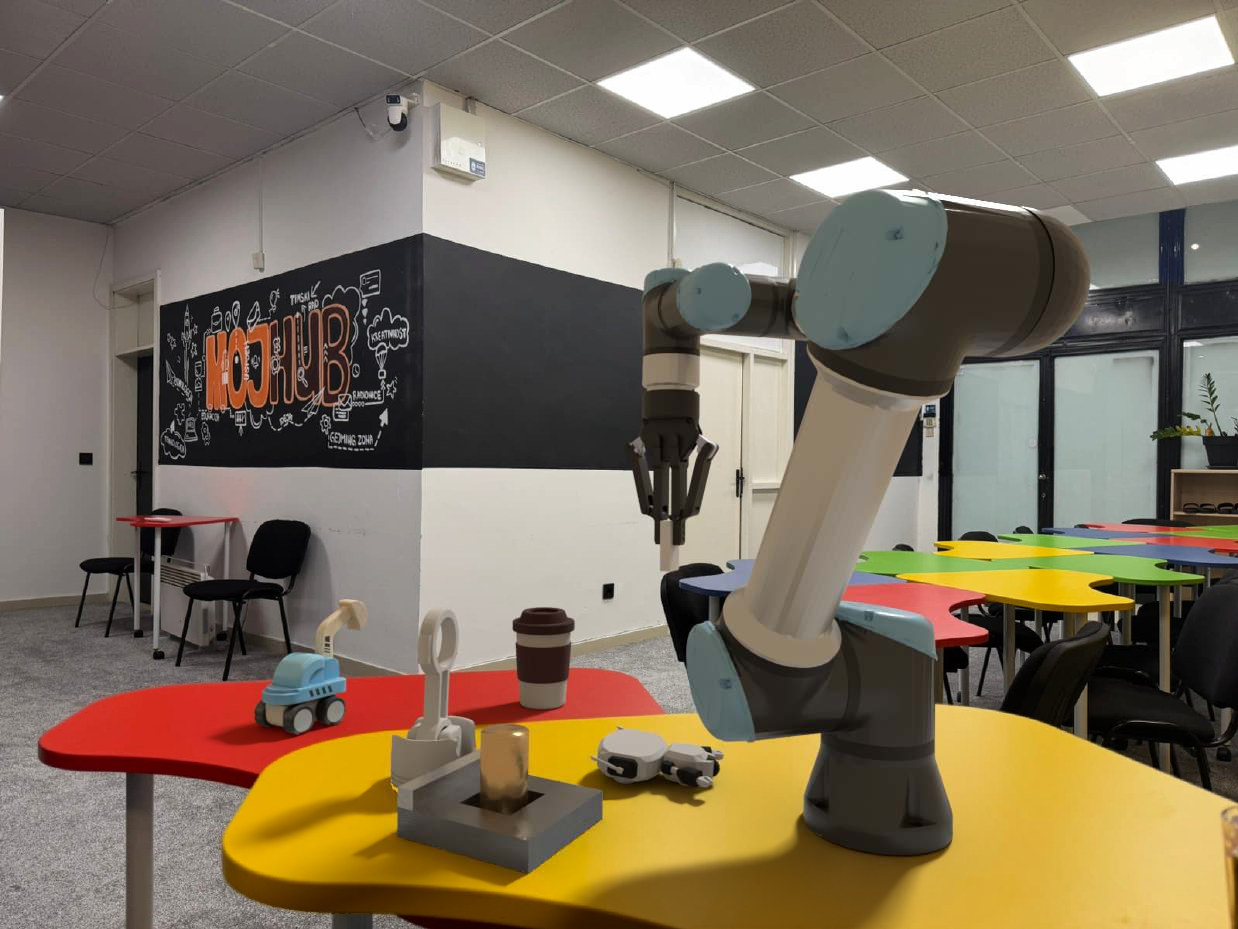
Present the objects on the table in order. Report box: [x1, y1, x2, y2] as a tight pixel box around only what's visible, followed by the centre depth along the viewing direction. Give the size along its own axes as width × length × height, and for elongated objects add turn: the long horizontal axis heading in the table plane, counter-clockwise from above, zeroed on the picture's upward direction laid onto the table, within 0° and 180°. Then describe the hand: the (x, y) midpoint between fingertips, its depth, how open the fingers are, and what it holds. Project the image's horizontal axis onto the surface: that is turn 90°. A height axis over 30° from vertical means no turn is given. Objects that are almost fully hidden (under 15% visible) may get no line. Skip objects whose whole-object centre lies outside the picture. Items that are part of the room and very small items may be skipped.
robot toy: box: [589, 725, 725, 789], centre depth 101 cm, size 12×4×15 cm
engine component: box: [390, 607, 478, 788], centre depth 100 cm, size 11×20×10 cm
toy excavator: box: [253, 598, 369, 736], centre depth 123 cm, size 9×17×17 cm, turn 148°
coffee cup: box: [511, 606, 576, 710], centre depth 133 cm, size 10×10×15 cm
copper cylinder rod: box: [479, 723, 530, 815], centre depth 87 cm, size 5×5×10 cm
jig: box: [396, 748, 604, 874], centre depth 87 cm, size 16×14×5 cm
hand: (669, 570), depth 109 cm, fingers closed
